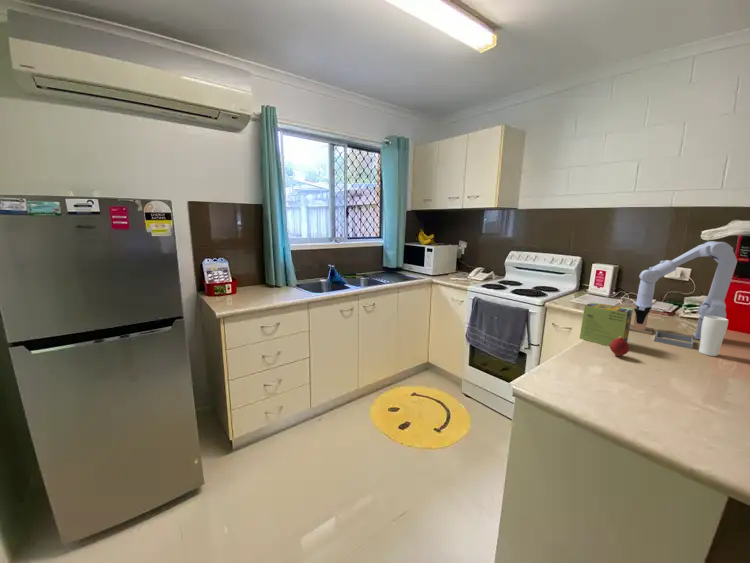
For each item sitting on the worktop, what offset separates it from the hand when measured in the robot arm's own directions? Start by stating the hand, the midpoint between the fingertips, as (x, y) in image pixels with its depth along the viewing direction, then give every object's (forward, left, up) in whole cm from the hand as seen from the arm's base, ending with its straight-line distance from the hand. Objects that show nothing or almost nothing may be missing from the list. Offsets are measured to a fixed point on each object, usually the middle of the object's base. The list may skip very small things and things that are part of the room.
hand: (640, 322), depth 154 cm
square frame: (+10, +12, -4) cm, 16 cm away
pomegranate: (+49, -2, -4) cm, 49 cm away
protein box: (+33, -9, -4) cm, 35 cm away
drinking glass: (+18, +23, -4) cm, 30 cm away
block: (0, 0, -3) cm, 3 cm away
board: (0, 0, -4) cm, 4 cm away
